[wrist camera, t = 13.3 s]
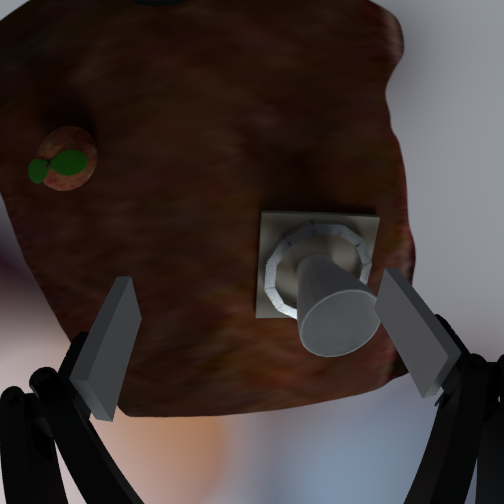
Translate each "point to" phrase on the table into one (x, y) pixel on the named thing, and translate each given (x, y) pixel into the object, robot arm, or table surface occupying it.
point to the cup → (333, 308)
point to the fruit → (65, 159)
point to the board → (307, 250)
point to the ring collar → (298, 235)
